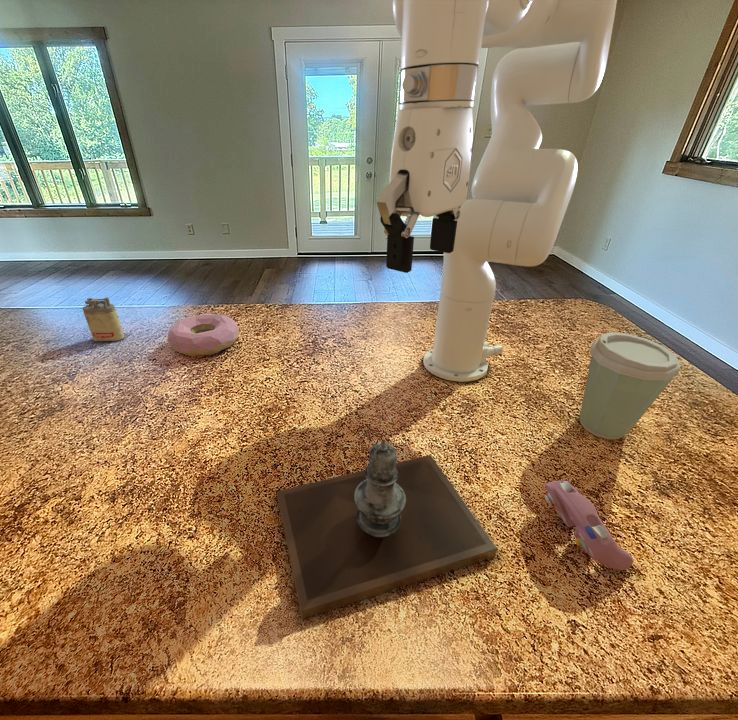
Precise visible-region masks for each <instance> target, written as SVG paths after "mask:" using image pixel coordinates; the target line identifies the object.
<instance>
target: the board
mask: <svg viewBox="0 0 738 720" xmlns="http://www.w3.org/2000/svg"><path fill="white" fill-rule="evenodd" d="M396 469H397V471H398V479H397V480H396V483H397V484H398V485H399V486H400V487H401V488H402V489H403V491H404V493H405V496H406V503H405V507H404V509H403V510H402V512H401V513H400V515H401V523H400V526H399V528H398V530H397V531H396V532H394V533H393V534H391V535H389V536H386V537H375V536H372V535H369V534H367V533H366V532H364V531H363V530H362V529H361V528H360V526H359V524H358V522H357V518H356V517H357V510H358V507H357V505H356V503H355V499H354V495H355V490H356V488H357V486H358V485H359V484H360V483H361V482H363V481H364V480H366V479H367V478H366V475H365V469H364V470H360V471H356V472H352V473H348V474H344V475H340V476H335V477H331V478H327V479H323V480H322V479H321V480H319V481H314V482H310V483H306V484H302V485H301V484H300V485H297V486H293V487H289V488H284V489H281V490H276V497H277V503H278V507H279V511H280V517H281V522H282V527H283V533H284V537H285V538H284V539H285V542H286V548H287V552H288V557H289V561H290V562H289V563H290V566H291V572H292V577H293V582H294V586H295V592H296V598H297V602H298V607H299V611H300V617H301V619H302V620H304V619H308V618H311V617H314V616H317V615H320V614H323V613H326V612H328V611H332V610H335V609H338V608H341V607H344V606H347V605H351V604H354V603H356V602H360V601H363V600H365V599H368V598H372V597H375V596H378V595H382V594H384V593H387V592H391V591H393V590H397V589H400V588H402V587H406V586H409V585H412V584H415V583H418V582H421V581H425V580H428V579H430V578H433V577H436V576H440V575H443V574H446V573H449V572H452V571H456V570H459V569H461V568H464V567H467V566H471V565H473V564H477V563H480V562H483V561H486V560H489V559H492V558H495V557H496V555H497V551H498V547H497V545H495V543H494V542H493V540H492V539H491V537H490V536H489V535H488V532H487V531H486V530H485V529H484V528H483V525H482V524H481V523H480V521H478V519H477V518H476V516H475V515H474V513H473V512H472V511H471V509H470V508H469V506H468V505H467V504H466V502H465V501H464V500H463V498H462V497H461V496H460V494H459V493H458V491H457V490H456V488H455V487H454V486H453V484H452V483H451V481H450V480H449V479H448V477H447V476H446V475H445V473H444V472H443V470H442V469H441V468H440V466H439V465H438V463H437V462H436V461H435V459H434V457H433V456H432V455H431V454H427V455H424V456H419V457H415V458H411V459H407V460H402V461H398V462H396Z"/></svg>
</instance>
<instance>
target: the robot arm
mask: <svg viewBox="0 0 738 720" xmlns="http://www.w3.org/2000/svg"><path fill="white" fill-rule="evenodd" d="M617 3H618V0H392V4H391V5H392V17H393V21H394V24H395V27H396V30H397V32H398V34H399V36H400V38H401V42H400V43H401V44H400V64H399V66H400V67H399V84H398V105H397V114H396V121H395V127H394V132H393V138H392V139H393V140H392V146H391V157H390V165H389V166H390V167H389V179H388V180H389V181H388V182H389V183H388V184H387V185H386V187H385V188H384V189H383V190H382V191H381V192H380V193H379V194H378V195H377V198H376V206H377V209H378V212H379V216H380V218H379V219H380V223H381V225H382V226H383V232H384V235H386V236H387V237H386V238H387V239H386V258H385V259H386V260H385V261H386V262H385V266H386V269H389V270H393V271H397V272H401V273H405V274H408V273H409V272H412V267H413V255H414V243H415V236H412V235H411V234H412V232H413V230H414V228H415V226H416V224H417V221H418V219H419V217H420V216H422V218H423V217H424V218H430V217H431V218H432V220H431V221H432V222H431V233H430V242H429V250H431V251H435V252H441V253H443V261H442V262H443V264H442V276H441V283H440V284H441V285H440V292H439V300H438V305H437V306H438V308H437V314H436V323H435V329H434V337H433V344H432V349H430V350H428V351H427V352H425V354H424V355H423V359H422V360H423V361H422V362H423V366H424V368H425V369H426V370H427V372H429V373H430V374H432V375H434V376H435V377H438V378H440V379H443V380H446V381H451V382H456V383H457V382H458V383H464V382H465V383H468V382H473V381H478V380H480V379H482V378H483V377H484V376H486V374H487V372H488V369H489V363H488V362H487V360H486V359H489V358H490V356H498V355H502V354H503V352H504V349H503V346H502V345H500V344H497V345H491V346H490V343H489V342H488V341H486V338H487V333H488V328H489V323H490V318H491V315H492V310H493V304H494V300H495V297H496V296H495V295H496V292H497V291H496V290H497V282H496V278H495V274H494V272H493V269H492V267H491V266H490V264H489V263H498V264H504V265H511V266H519V267H537V266H539V265H541V264H543V263H544V262H545V261H546V260H547V259H548V257H549V255H550V254H551V252H552V250H553V248H554V245H555V243H556V240H557V237H558V234H559V231H560V230H561V226H562V223H563V221H564V219H565V215H566V212H567V209H568V207H569V204H570V201H571V198H572V195H573V193H574V189H575V187H576V186H575V185H576V181H577V177H578V161H577V157H576V156H575V154H574V153H573V152H571V151H569V150H567V149H561V148H540V146H541V145H542V140H543V133H542V129H541V127H540V125H539V123H538V121H537V120H536V118H535V117H534V116H533V114H532V113H531V111H529V110H528V109H527V108H526V107H527V106H542V105H560V104H561V105H562V104H575V103H576V104H577V103H581V102H584V101H586V100H588V99H590V98H591V97H592V96H593V95H595V93H596V92H597V91H598V89H599V87H600V86H601V83H602V80H603V78H604V77H605V76H604V75H605V73H606V69H607V64H608V58H609V53H610V48H611V47H610V46H611V40H612V34H613V29H614V23H615V16H616V9H617ZM493 48H509V49H510V48H511V49H513V50H511V51H509V52H508V53H506V54H505V55H503V57H501V58H500V60H499V61H498V62H497V64H496V66H495V69H494V71H493V75H492V80H491V88H490V124H491V137H490V139H489V141H488V144H487V146H486V148H485V151H484V153H483V155H482V157H481V160H480V162H479V163H478V166H477V169H476V172H475V174H474V175H473V176H474V177H473V179H472V183H471V190H470V191H471V197H472V198H471V199H470V198H469V199H467V197H468V190H469V182H470V173H471V163H472V152H473V151H472V150H473V133H474V132H473V129H474V128H473V127H474V125H473V121H474V119H473V118H474V117H473V108H474V105H475V97H476V96H475V95H476V91H477V82H478V74H479V65H480V58H481V53H482V52H481V51H482V49H493ZM434 216H436V217H434ZM402 217H405V220H404V221H403V219H402Z"/></svg>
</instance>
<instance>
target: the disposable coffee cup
mask: <svg viewBox="0 0 738 720" xmlns="http://www.w3.org/2000/svg"><path fill="white" fill-rule="evenodd" d="M589 348H590V349H589V354H590V361H589V366H588V370H587V371H588V372H587V377H586V382H585V387H584V391H583V396H582V402H581V406H580V407H581V408H580V412H579V417H578V419H579V423H580V424H581V426H582V427H583V429H584V430H586V431H587V432H588V433H590V434H592V435H593V436H595V437H598V438H602V439H605V440H619V439H621V438H623V437H624V436H625V435H628V434H629V433H630V432H631V430H632V429H633V428H634V427H635V426H636V425H637V423H638V422H639V421H640V420H641V418H642V417H643V416H644V415H645V414H646V412H647V411H649V409H650V407H651V406H652V405H653V404H654V402H655V401H656V400H657V399H658V398H659V396H660V395H661V394H662V393H663V392H664V390H665V389H666V388H667V387H668V386H669V384H670V383H671V382H672V380H673V379H674V378H675V377H678V376H680V374H679V373H680V371H681V365H680V359H679V358H678V357H677V355H676V354H675V353H673V352H672V351H671V350H670V349H668V348H667V347H665V346H664V345H662V344H660V343H658V342H655V341H652V340H650V339H648V338H646V337H642V336H637V335H634V334H631V333H630V334H629V333H623V332H614V331H609V332H607V333H602V334H599V337H598V339H596V340H594V341H593V342H592V344H591V345H590V347H589Z"/></svg>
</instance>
